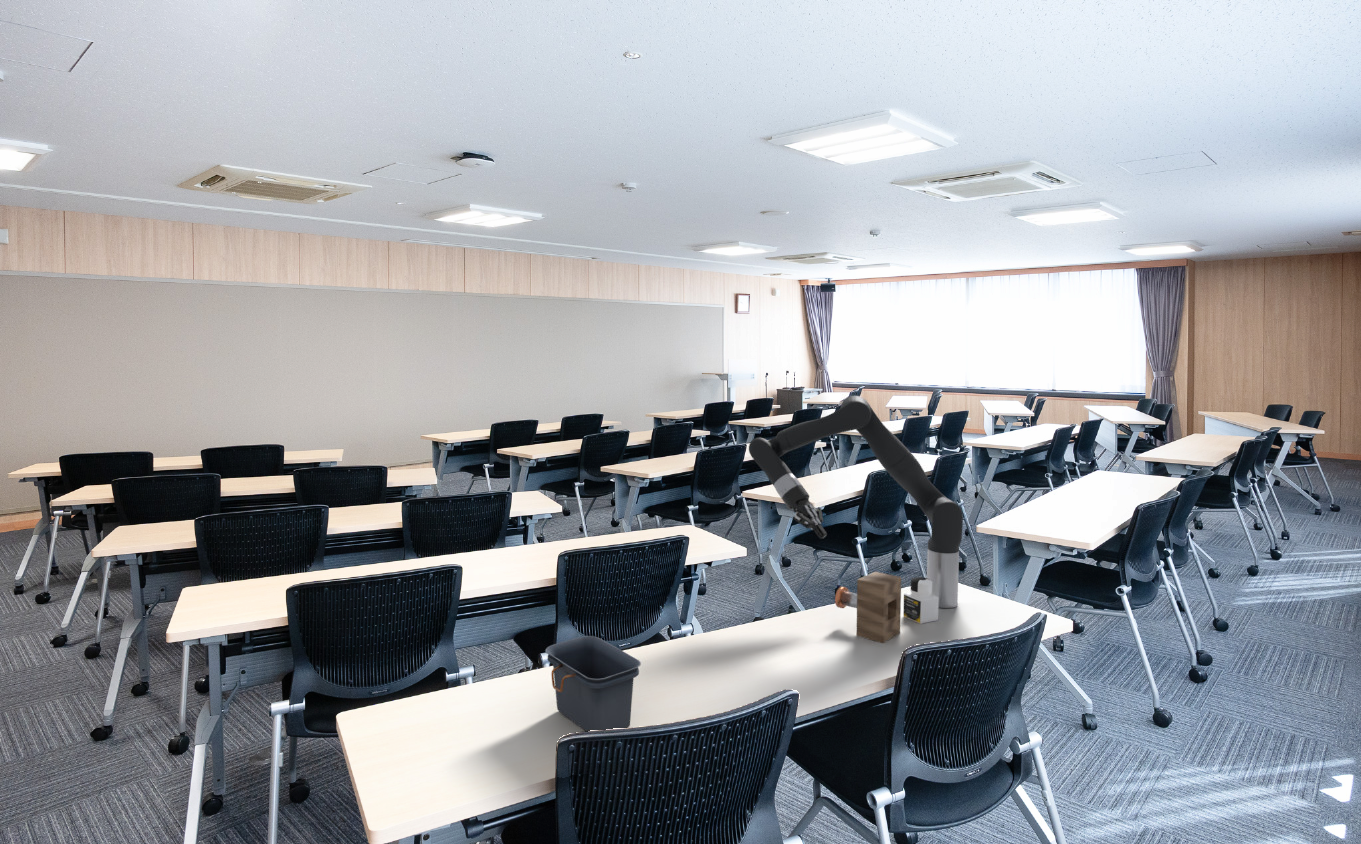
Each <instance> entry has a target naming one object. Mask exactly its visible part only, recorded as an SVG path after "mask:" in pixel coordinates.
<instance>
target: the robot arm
mask: <svg viewBox="0 0 1361 844" xmlns="http://www.w3.org/2000/svg"><path fill="white" fill-rule="evenodd" d="M854 430H856V432H857V433H859V434H860V436H862V437H863V439H864V440H865V441H866V443H867V444H868V446H869V448H870V449H871V450H872V453H873V454H874V456H875V457H876V459H877V460H878V462H879V463H880V464H881V466H882V468H884V470H885V471H886V472H887V473H888V474H889V475H890V476H891V478H892V479H893V480H894V481H895V482H896V483H897V484H898V485H899V486H900V487H901V488H902V489H903V490H904V491H906V492H907V493H908V494H909V495H910V496H911V497H912V498H913V499H914V501H915V502H916V503H917V505H918V506H919V508H920V509H921V510H922V512H923V513H924V515H925V516H926V518H927V519H928V521H929V522H930V523H931V536H930V538H929V539H928V540H927V557H926V558H927V564H926V567H927V569H926V578H927V579H929V580H931V581H932V595H935V596H937V597H939V602H938V609H939V608H940V609H952V608H956V607H958V602H959V601H958V600H959V599H958V598H959V597H958V596H959V570H960V569H959V567H960V566H959V565H960V564H959V563H960V560H959V559H960V545H961V543H962V540H963V524H964V523H963V522H964V515H963V510H962V508H961V507H960V505H959V504H958V503H956V502H955V501H953V500H951V499H949V498H947V496H945V495H944V494H943V493H942V492H941V491H940V490H939V489H938V488H936V486H935V485H933V483H932V482H931V481H930V479H929V477H928V476H927V474H926V472H925V470H924V469H923V466H921V463H920V462H919V461H918V459H917V458H916V457H915V456H914V454H913V453H911V451H910V449H908V447H906V446H905V445H904V443H903V442H902V441H900V439H899V438H898V437H897V436H896V435H895V434H894V433H892V431H891V430H889V428H887V427H886V426H885V424H884V423H883V422H882V421H881V420H880V418H879V417H878V416H877V414H876V412H875V411H874V409H873V408H872V406H871V405H870V403H869V402H868V401H867V400H866V399H865V398H864V397H862V396H860V395H850V396H847V397H845V399H843V400H842V403H841V404H840V408H839V409H837V410H836V411H834V412H832V413H830V414H828V415H826V416H823V417H820V418H817V419H811V420H807V421H804V422H800V423H797V424H795V425H792V426H790V427H787V428H784V429H783V430H780V431H779V432H778V433H776V436H774V437H772V438H771V439H766V438H763V437H755V438H754V439H752V440H750V443H749V445H748V453H749V454H750V456H751V458H752V459H753V461H755V463H756V464H757V465H758V467H759V468H760V469H761V470H762V471H763V472H764V473H765V475H766V477H767V478H768V480H769V481H770V483H771V485H773V487H774V489H775V491H776V492H777V494H778V496H779V497H780V498H781V499H782V501H783V503H784V504H785V506H786V507H787V508H788V509H789V510H790V511H793V513H794V515H793V516H792V519H793V520H794V521H795V522H797V523H798V524H800V525H801V526H803V527H804V528H806V529H809V528H810V529H811V531H813V532H814V533H815V534H816V536H817V537H818V538H819V539H820V540H821V539H824V538H825V537H827V536H828V533H827V531H826V529H824V527H823V526H822V523H823V522H824V518H823V512H822V508H821V507H820V506H819V507H817V508H816V507H815V506H814V504H813V503H812V502H811V501H810V495H809V493H808V492H807V490H806V489H805V488H804V486H803V485H802V483H801V482H800V481H799V479H798V478H797V477H796V475H794V474H793V472H792V471H791V469H790V468H789V467H788V465H787V464H786V463H785V462H784V461H783V460H782V459H781V458H780V457H782V456H784V455H785V454H786V453H788V452H791V451H794V450H796V449H799V448H801V447H805V446H807V445H809V444H811V443H814V442H816V441H819V440H821V439H824V438H827V437H830V436H834V435H838V434H840V433H845V432H846V433H847V432H849V431H854Z"/></svg>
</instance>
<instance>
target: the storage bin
mask: <svg viewBox="0 0 1361 844" xmlns="http://www.w3.org/2000/svg"><path fill="white" fill-rule="evenodd" d="M544 651H545V653H546V654H547V661H548V662H549V663H550V664H551V665H552V667H553V669H552V670H551V673H550V675H551V685H552V688H553V689H554V690H555V699H556V707H557V708H556V709H557V711H559V713H560V714H563V715H564V716H565V717H566V718H568V719H569V720H571V721H572V722H574V724H576V725H577V726H579V727H580V728H582V729H583V730H584V731H585V732H587V731H590V730H606V729H613V728H626V729H627V727H628V728H629V727H630V725H631V719H632V718H631V716H632V706H633V705H632V704H633V703H632V702H633V691H634V690H633V689H634V680H635V679H634V678H637V677H638V676H639V674H640V670H639V667H640V666H641V665H642V664H641V663H642V662H641V661H640V660H639V659H637V658H635V657H633V656H632V655H630V654H628V653H627V652H626V651H624V650H622V649H620V648H618V647H616V646H614V645H613V644H611V643H609V642H608V641H605V640H603V639H602V638H600V637H598V636H594V635H584V636H579V637H575V638H572V639H569V640H565V641H561V642H558V643H554V644H551V645H549V646H547V647H546V648H545V650H544Z"/></svg>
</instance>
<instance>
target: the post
mask: <svg viewBox="0 0 1361 844" xmlns="http://www.w3.org/2000/svg"><path fill="white" fill-rule="evenodd" d="M856 581H857V582H856V583H857V587H856V589H857V592H856V594H857V608H856V635H857V637H859V636H861V637H860V638H863V639H866V638H868V639H867V640H870V641H874V640H875V641H874V642H878V643H881V644H884V643H885V641H886V642H887V641H889V640H890V638H891V639H892V638H894V637H896V636H898V635H899V634H901V614H902V613H901V612H902V611H901V609H902V608H901V607H902V606H901V604H902V603H901V602H902V600H901V599H902V576H897V575H891V574H887V573H882V572H878V571H873V572H872V573H871V572H870V573H869V574H867V575H865V576H862V577H860V578H858V579H856ZM897 634H898V635H897ZM856 635H855V636H856ZM893 636H894V637H893Z"/></svg>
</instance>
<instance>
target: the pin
mask: <svg viewBox="0 0 1361 844" xmlns="http://www.w3.org/2000/svg"><path fill="white" fill-rule="evenodd" d="M835 592H836V593H835V595H834V597H835V598H834V603H835V606H836V608H840V609H845V608H846V607H850V608H854V609H857V592H856V593H855V592H851V591H849V588H848V587H846V586H839V588H838V589H837V590H836V591H835Z"/></svg>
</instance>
